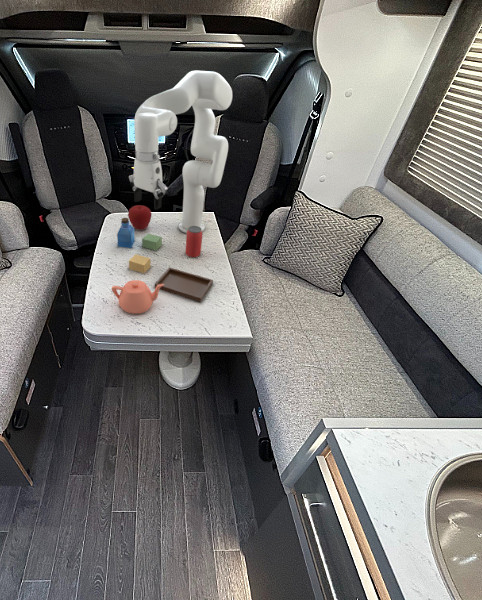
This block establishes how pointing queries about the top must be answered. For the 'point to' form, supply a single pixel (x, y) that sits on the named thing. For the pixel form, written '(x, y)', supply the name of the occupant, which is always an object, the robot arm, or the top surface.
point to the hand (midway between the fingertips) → (147, 204)
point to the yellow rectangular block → (139, 263)
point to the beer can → (193, 241)
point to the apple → (139, 217)
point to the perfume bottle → (125, 234)
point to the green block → (152, 241)
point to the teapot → (136, 296)
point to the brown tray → (184, 284)
